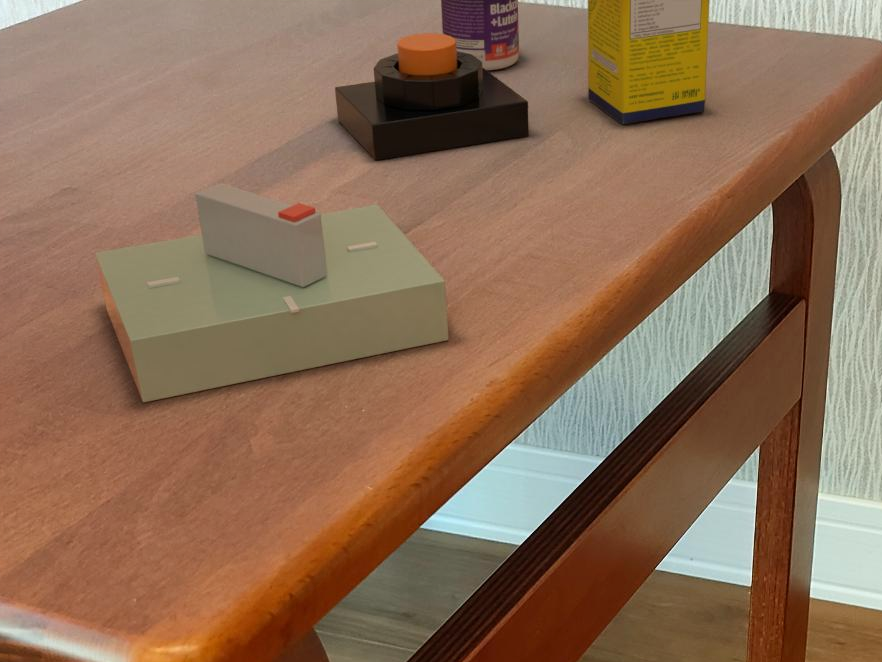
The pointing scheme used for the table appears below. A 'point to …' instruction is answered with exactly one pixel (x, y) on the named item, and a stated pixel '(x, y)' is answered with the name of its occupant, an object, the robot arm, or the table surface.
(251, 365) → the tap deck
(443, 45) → the button
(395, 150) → the button block
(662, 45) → the supplement box
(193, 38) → the table surface
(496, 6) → the pill bottle
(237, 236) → the red-button grey box
